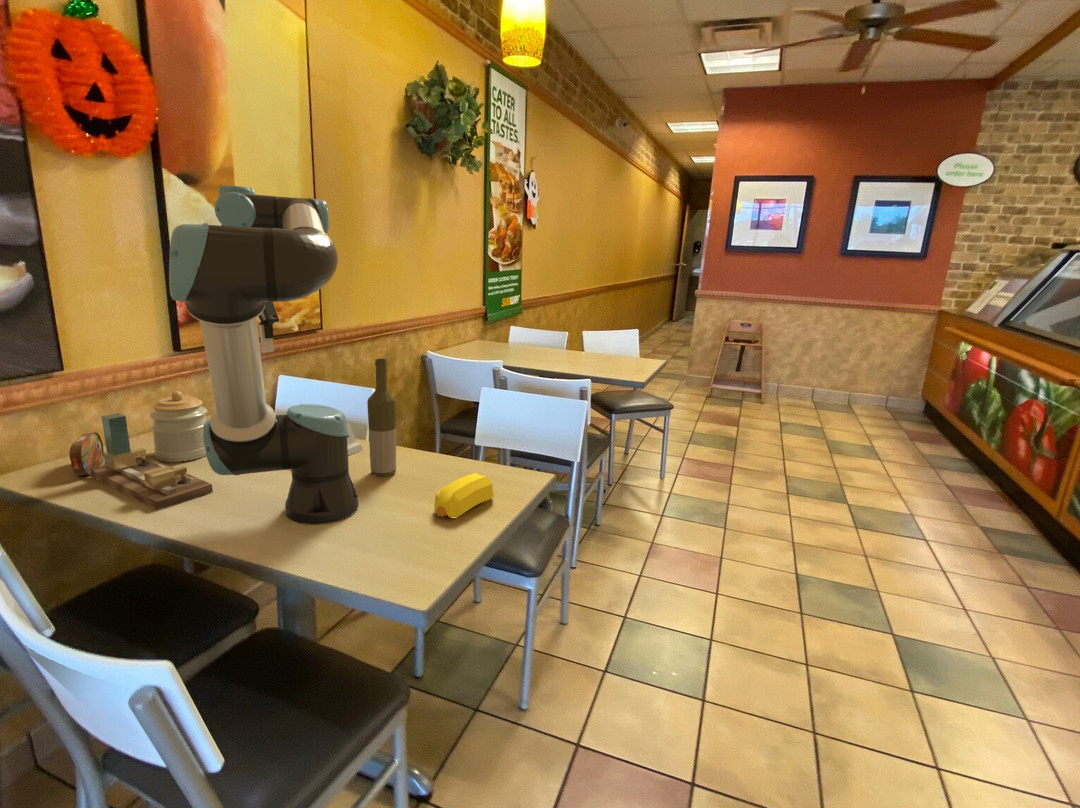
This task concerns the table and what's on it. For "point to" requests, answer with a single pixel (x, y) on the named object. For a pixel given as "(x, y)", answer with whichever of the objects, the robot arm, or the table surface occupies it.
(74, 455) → the tin
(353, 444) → the hinge
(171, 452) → the jar
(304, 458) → the robot arm
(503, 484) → the table surface
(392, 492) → the table surface
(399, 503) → the table surface
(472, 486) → the yellow rounded bar
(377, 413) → the bottle
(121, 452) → the slider
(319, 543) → the table surface
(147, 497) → the gauge board
